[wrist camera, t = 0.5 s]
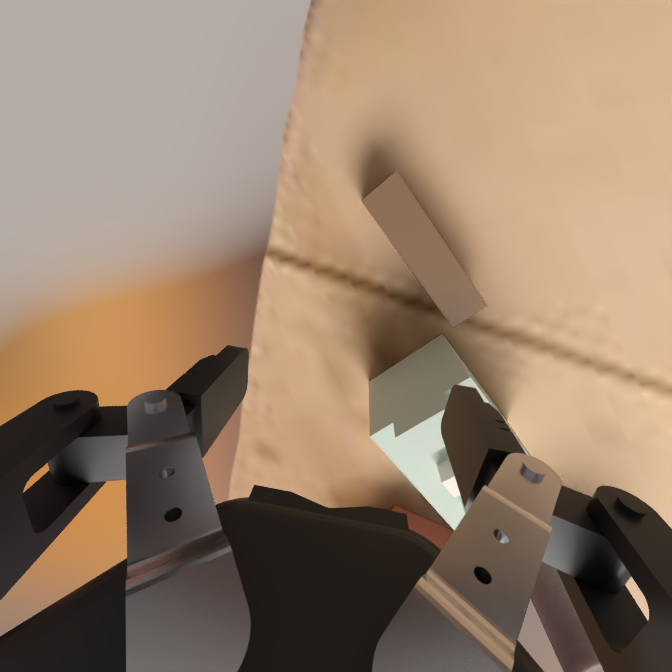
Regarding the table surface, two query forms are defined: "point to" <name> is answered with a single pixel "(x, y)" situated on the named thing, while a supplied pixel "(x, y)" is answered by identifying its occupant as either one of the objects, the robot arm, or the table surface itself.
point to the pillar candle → (562, 623)
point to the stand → (422, 421)
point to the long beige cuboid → (423, 249)
